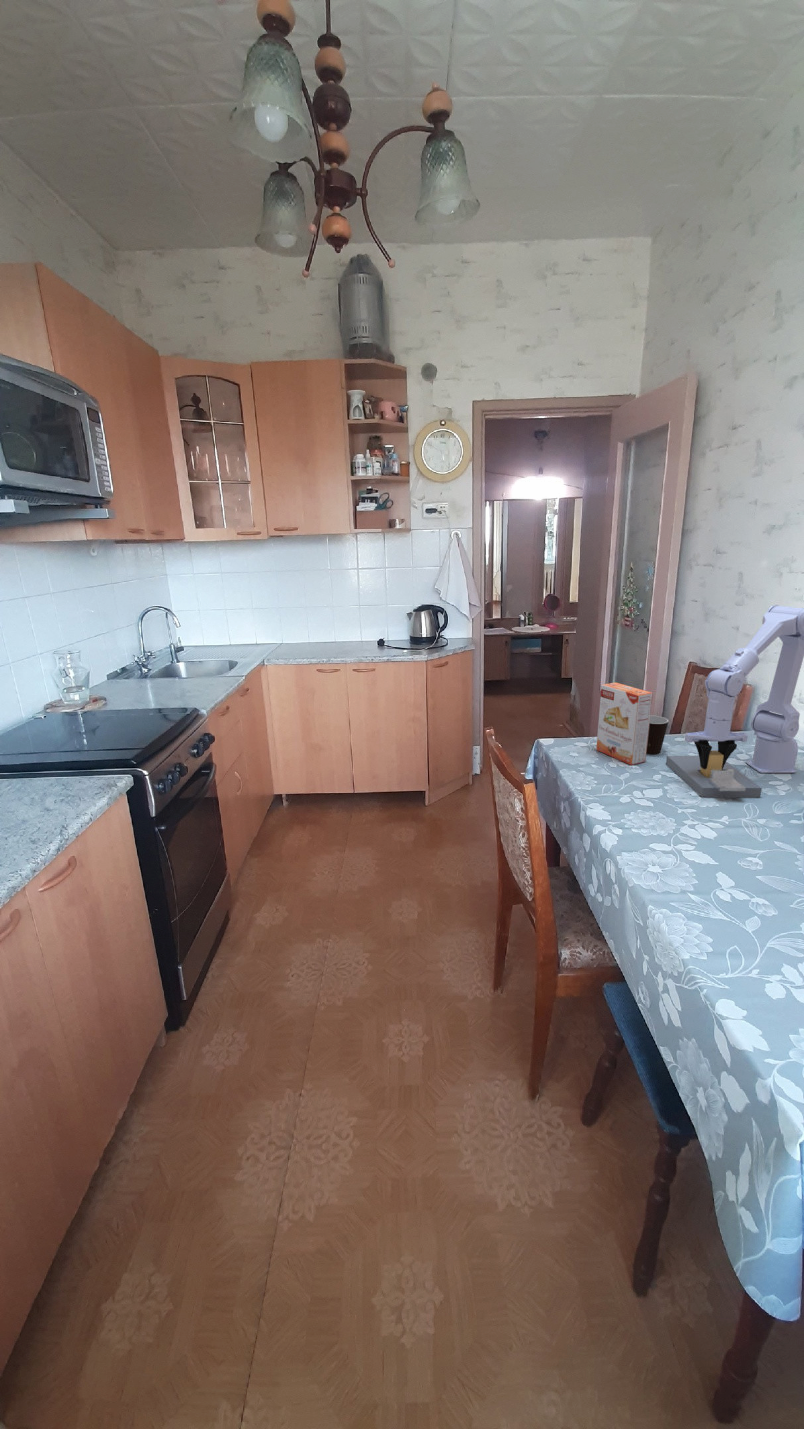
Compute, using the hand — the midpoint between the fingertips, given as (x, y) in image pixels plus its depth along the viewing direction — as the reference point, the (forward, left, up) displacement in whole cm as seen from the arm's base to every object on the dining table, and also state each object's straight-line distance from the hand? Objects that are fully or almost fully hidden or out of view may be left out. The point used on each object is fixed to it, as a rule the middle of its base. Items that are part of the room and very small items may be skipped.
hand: (711, 767), depth 146 cm
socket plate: (-1, -2, -4) cm, 5 cm away
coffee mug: (+7, -25, -4) cm, 26 cm away
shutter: (0, +8, -2) cm, 8 cm away
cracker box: (+17, -19, -4) cm, 26 cm away
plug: (0, 0, -3) cm, 3 cm away
